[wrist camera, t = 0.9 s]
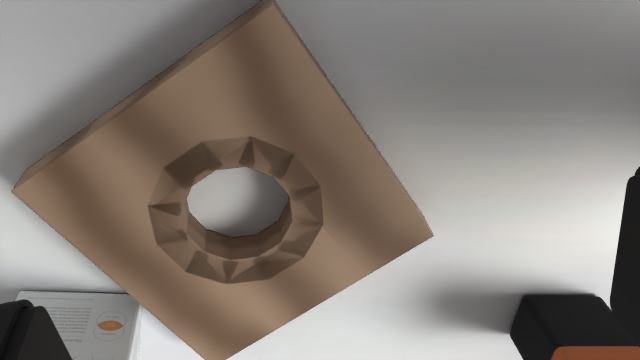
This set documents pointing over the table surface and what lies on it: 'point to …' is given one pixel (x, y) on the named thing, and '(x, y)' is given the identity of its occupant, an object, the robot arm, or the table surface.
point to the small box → (93, 323)
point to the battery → (570, 330)
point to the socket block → (224, 153)
